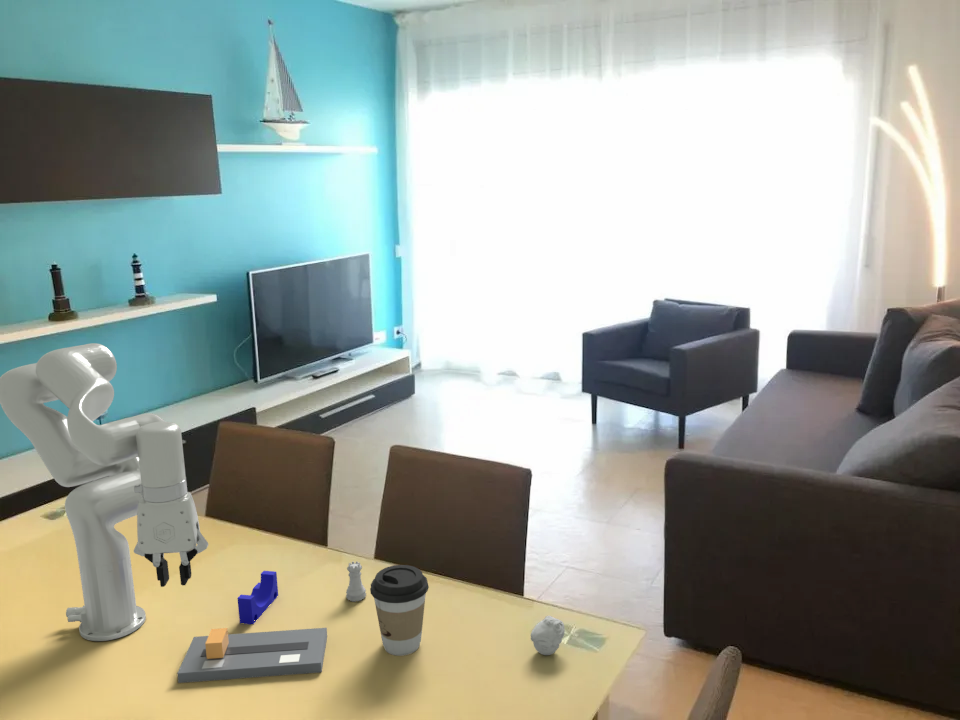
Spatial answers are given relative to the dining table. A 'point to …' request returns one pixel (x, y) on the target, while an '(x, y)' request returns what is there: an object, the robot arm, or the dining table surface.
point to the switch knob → (217, 643)
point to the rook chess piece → (355, 583)
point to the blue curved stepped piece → (258, 598)
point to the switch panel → (257, 656)
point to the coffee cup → (400, 607)
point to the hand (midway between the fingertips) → (175, 581)
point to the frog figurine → (548, 635)
